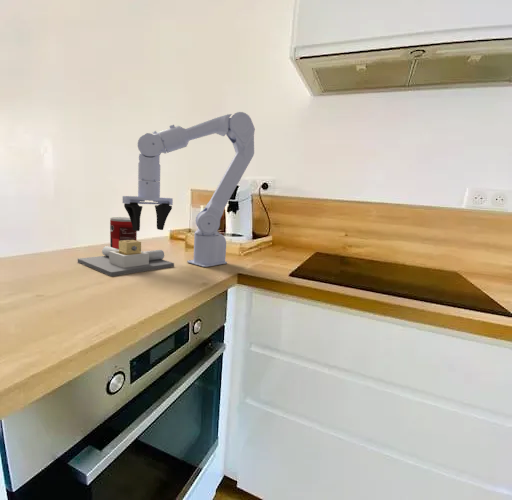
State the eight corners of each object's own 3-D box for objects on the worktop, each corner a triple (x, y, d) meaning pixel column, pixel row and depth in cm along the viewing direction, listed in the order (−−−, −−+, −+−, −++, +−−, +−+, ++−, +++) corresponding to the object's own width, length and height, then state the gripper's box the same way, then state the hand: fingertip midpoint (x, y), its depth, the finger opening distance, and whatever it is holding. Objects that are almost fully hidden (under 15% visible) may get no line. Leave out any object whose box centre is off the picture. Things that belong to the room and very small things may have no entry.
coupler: (132, 261, 87) (132, 239, 86) (141, 264, 84) (141, 242, 83) (118, 262, 84) (118, 240, 83) (127, 266, 81) (127, 243, 80)
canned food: (118, 249, 107) (118, 216, 105) (140, 251, 106) (141, 218, 104) (105, 253, 100) (104, 218, 98) (128, 255, 99) (129, 220, 97)
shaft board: (138, 255, 100) (138, 242, 99) (174, 266, 89) (174, 252, 88) (77, 262, 86) (77, 247, 85) (111, 276, 75) (111, 259, 74)
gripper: (162, 182, 95) (161, 227, 98) (116, 178, 84) (116, 229, 86) (177, 183, 91) (176, 230, 93) (130, 179, 80) (130, 232, 82)
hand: (148, 230), depth 90 cm, fingers open, 7 cm apart
